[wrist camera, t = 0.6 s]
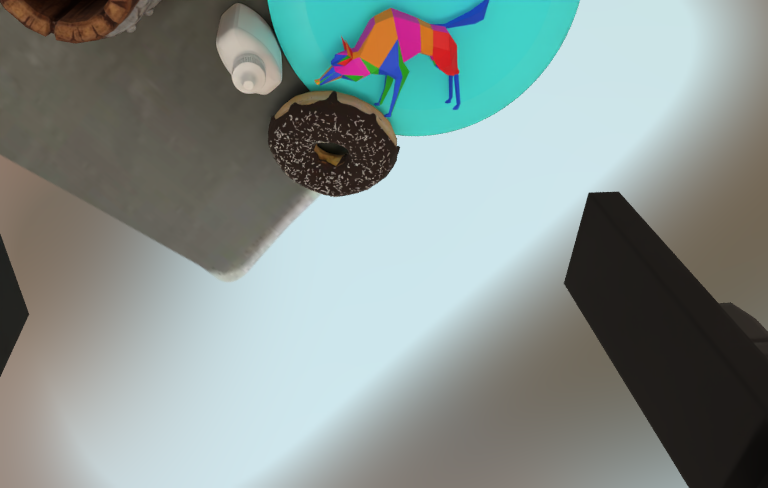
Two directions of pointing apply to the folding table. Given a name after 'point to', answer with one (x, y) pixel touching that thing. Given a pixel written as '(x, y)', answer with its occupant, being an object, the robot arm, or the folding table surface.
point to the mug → (80, 17)
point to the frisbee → (425, 81)
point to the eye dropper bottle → (249, 50)
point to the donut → (336, 125)
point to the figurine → (401, 50)
